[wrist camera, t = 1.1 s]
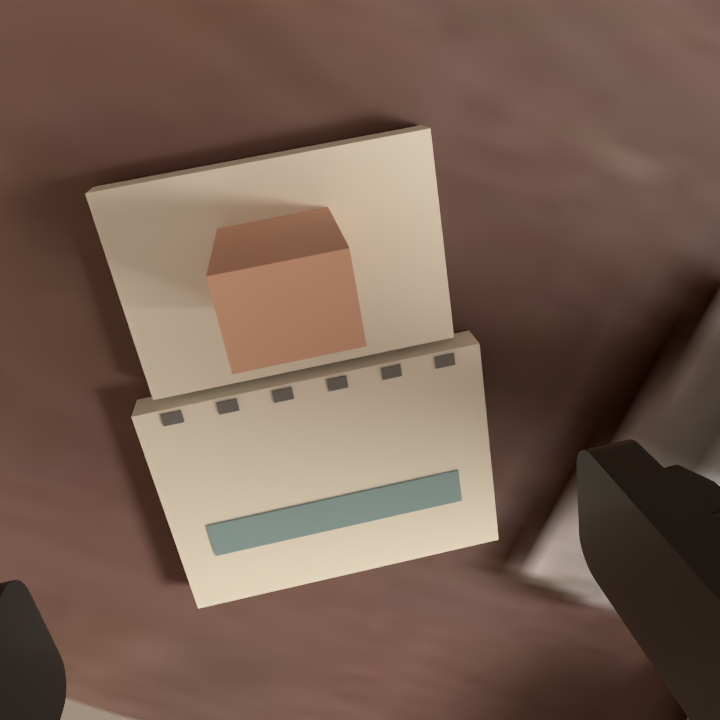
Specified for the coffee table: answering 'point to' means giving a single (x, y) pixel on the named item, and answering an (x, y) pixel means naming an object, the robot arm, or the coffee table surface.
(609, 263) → the coffee table surface
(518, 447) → the coffee table surface
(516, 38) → the coffee table surface
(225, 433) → the board
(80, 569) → the coffee table surface
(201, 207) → the block on cream base
